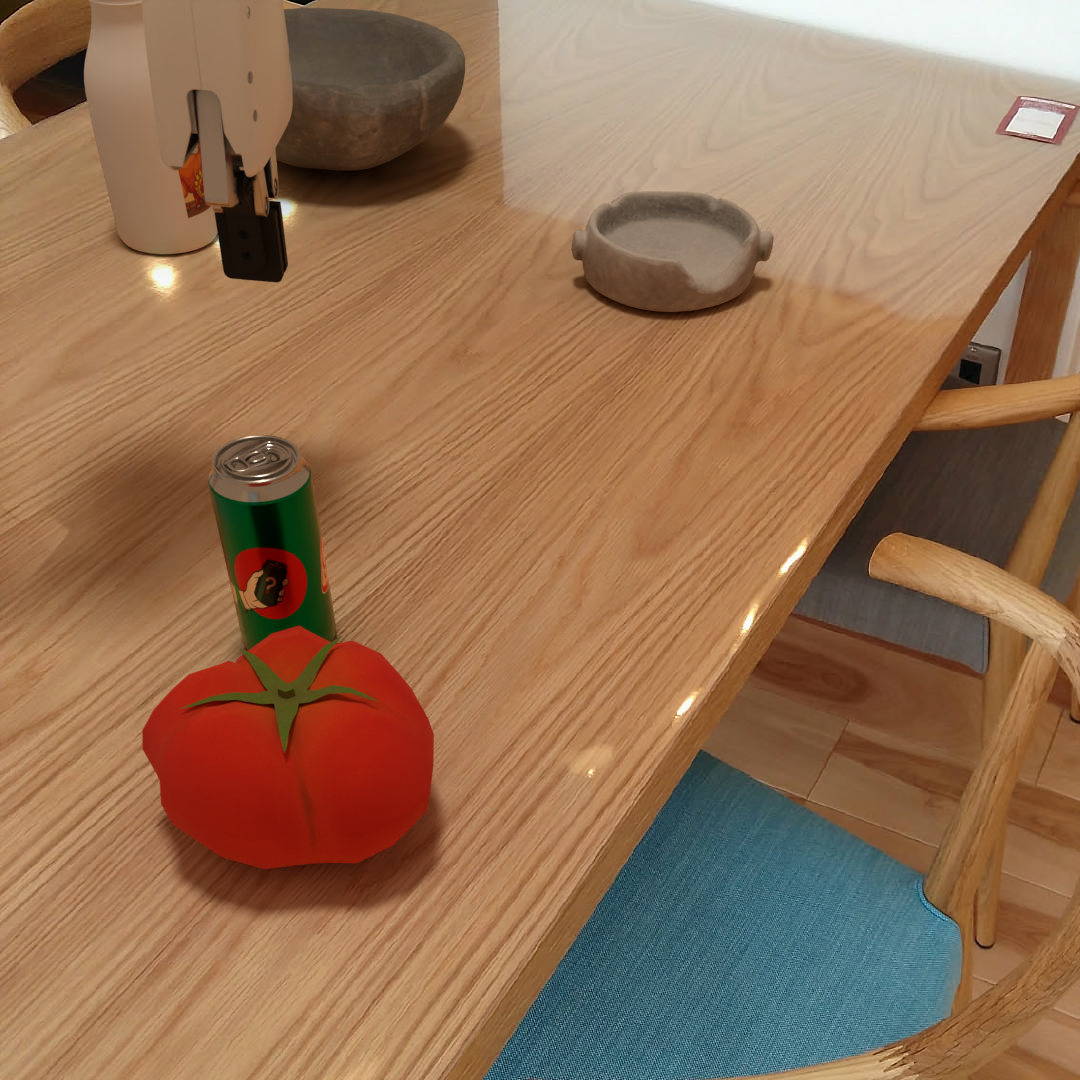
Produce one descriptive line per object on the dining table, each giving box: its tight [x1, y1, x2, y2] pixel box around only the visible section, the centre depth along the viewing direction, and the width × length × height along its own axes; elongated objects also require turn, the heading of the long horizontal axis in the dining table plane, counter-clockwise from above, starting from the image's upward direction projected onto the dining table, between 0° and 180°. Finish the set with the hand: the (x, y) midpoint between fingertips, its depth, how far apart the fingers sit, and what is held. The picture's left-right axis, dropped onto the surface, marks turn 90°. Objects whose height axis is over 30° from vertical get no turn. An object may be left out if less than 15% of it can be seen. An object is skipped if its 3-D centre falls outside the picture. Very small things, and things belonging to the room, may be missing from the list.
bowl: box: [275, 7, 466, 172], centre depth 122 cm, size 23×22×10 cm
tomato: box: [141, 626, 435, 870], centre depth 66 cm, size 14×13×9 cm
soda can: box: [207, 434, 337, 651], centre depth 73 cm, size 5×5×12 cm
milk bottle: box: [83, 0, 218, 255], centre depth 104 cm, size 8×8×20 cm
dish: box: [571, 190, 775, 313], centre depth 111 cm, size 14×14×5 cm
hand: (256, 273), depth 78 cm, fingers closed
